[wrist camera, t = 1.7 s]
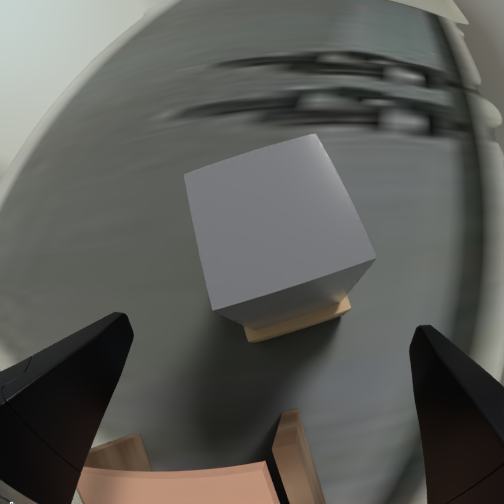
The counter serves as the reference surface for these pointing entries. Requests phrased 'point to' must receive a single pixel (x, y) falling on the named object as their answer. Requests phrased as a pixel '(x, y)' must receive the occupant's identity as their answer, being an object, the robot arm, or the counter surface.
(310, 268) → the granite block
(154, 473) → the terracotta flap
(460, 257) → the counter surface
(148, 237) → the counter surface
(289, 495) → the walnut frame
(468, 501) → the robot arm
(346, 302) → the oak plinth
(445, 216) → the counter surface
